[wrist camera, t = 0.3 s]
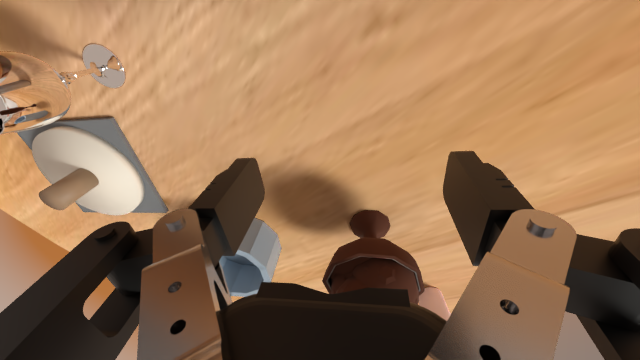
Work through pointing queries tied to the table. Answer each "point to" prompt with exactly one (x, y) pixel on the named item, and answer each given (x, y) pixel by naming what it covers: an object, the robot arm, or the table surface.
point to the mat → (114, 136)
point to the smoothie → (434, 302)
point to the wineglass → (47, 86)
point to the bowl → (252, 260)
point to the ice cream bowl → (373, 261)
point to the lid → (86, 172)
